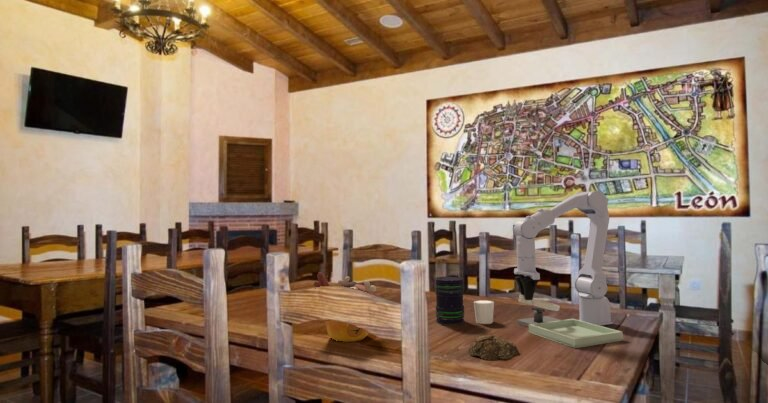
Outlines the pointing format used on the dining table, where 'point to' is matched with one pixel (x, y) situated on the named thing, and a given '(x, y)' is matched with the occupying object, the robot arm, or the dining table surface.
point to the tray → (575, 333)
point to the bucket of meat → (340, 329)
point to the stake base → (530, 320)
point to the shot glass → (484, 311)
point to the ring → (539, 303)
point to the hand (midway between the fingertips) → (527, 299)
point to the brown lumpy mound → (492, 348)
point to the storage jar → (449, 300)
